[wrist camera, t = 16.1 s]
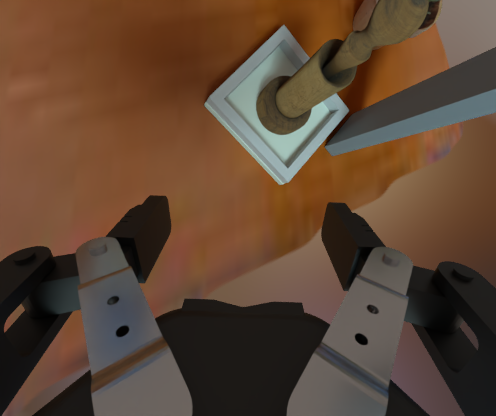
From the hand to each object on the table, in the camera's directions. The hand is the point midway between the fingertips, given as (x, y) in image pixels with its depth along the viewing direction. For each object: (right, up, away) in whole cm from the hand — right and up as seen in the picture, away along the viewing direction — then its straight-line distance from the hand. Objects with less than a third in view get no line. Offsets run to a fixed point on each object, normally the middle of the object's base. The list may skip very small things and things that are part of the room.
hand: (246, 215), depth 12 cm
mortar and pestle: (+4, +13, +19) cm, 23 cm away
